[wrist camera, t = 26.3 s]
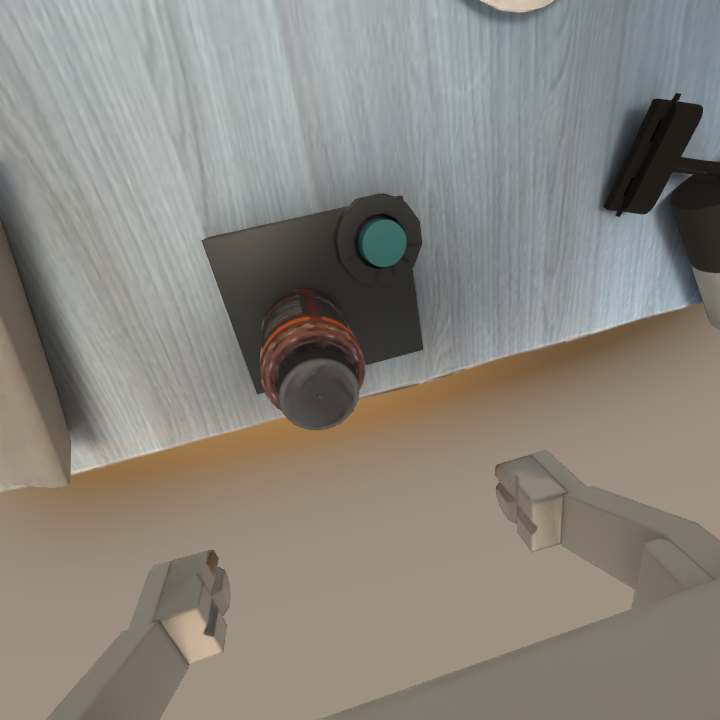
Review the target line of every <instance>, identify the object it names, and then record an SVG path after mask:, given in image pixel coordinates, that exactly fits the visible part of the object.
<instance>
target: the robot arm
mask: <svg viewBox="0 0 720 720" xmlns="http://www.w3.org/2000/svg"><path fill="white" fill-rule="evenodd" d="M495 475H496V477H497V478H498V479H499V481H500V482H499V483H498V485H497V486H496V494H497V499H498V502H499V505H500V507H501V509H502V511H503V513H504V514H505V516H506V517H507V519H508V520H510V521H512V522H514V523H516V524H517V532H518V534H519V535H520V537H521V538H522V539H523V541H524V542H525V544H526V545H527V546H528V548H529V549H530V550H531V552H535V551H538V550H542V549H545V548H548V547H552V546H556V545H559V544H561V545H562V546H563V547H565V548H566V549H568V550H570V551H572V552H573V553H575V554H576V555H578V556H580V557H581V558H583V559H585V560H586V561H588V562H590V563H591V564H593V565H595V566H596V567H598V568H600V569H601V570H603V571H605V572H606V573H608V574H610V575H611V576H613V577H615V578H617V579H618V580H620V581H622V582H623V583H625V584H627V585H628V586H630V587H632V588H633V589H635V592H634V598H633V603H632V609H631V610H628V611H625V612H622V613H619V614H617V615H614V616H611V617H608V618H605V619H603V620H600V621H597V622H594V623H591V624H588V625H585V626H582V627H580V628H577V629H574V630H571V631H568V632H565V633H563V634H560V635H557V636H554V637H552V638H548V639H546V640H543V641H540V642H537V643H534V644H531V645H529V646H526V647H523V648H520V649H517V650H514V651H511V652H509V653H506V654H503V655H500V656H497V657H494V658H492V659H489V660H486V661H483V662H480V663H477V664H475V665H472V666H469V667H466V668H463V669H461V670H457V671H455V672H452V673H449V674H446V675H443V676H441V677H438V678H435V679H432V680H429V681H426V682H423V683H421V684H418V685H415V686H412V687H410V688H406V689H404V690H401V691H398V692H395V693H393V694H390V695H387V696H384V697H381V698H378V699H375V700H373V701H370V702H367V703H364V704H361V705H358V706H356V707H353V708H350V709H347V710H344V711H341V712H339V713H336V714H333V715H330V716H327V717H324V718H322V719H319V720H720V540H718V539H717V538H716V537H715V536H713V535H712V534H711V533H709V532H708V531H707V530H705V529H704V528H703V527H702V526H700V525H699V524H698V523H695V522H692V521H689V520H687V519H684V518H681V517H678V516H675V515H673V514H670V513H667V512H664V511H662V510H659V509H656V508H653V507H650V506H647V505H645V504H642V503H639V502H636V501H634V500H631V499H628V498H625V497H622V496H620V495H617V494H614V493H611V492H608V491H606V490H603V489H600V488H597V487H595V486H590V487H587V486H586V485H585V484H583V483H582V482H581V481H580V480H579V479H578V478H577V477H576V476H575V475H574V474H573V473H572V472H570V471H569V470H568V469H567V468H566V467H565V466H564V465H563V464H562V463H561V462H560V461H558V460H557V459H556V458H555V457H554V456H553V455H552V454H551V453H550V452H548V451H546V450H543V451H540V452H537V453H534V454H530V455H528V456H524V457H521V458H517V459H514V460H511V461H508V462H504V463H501V464H498V465H496V468H495ZM218 559H219V558H218V557H217V555H216V553H215V551H214V550H208V551H205V552H201V553H197V554H193V555H190V556H186V557H183V558H178V559H175V560H172V561H169V562H165V563H161V564H158V565H154V566H153V567H152V569H151V570H150V571H149V573H148V576H147V579H146V582H145V585H144V587H143V590H142V593H141V596H140V598H139V601H138V604H137V607H136V610H135V612H134V615H133V618H132V621H131V624H130V626H129V629H128V630H126V631H123V632H122V633H121V634H120V635H119V636H118V637H117V638H116V639H115V641H114V642H113V643H112V644H111V645H110V646H109V648H108V649H107V650H106V651H105V652H104V653H103V655H102V656H101V657H100V658H99V659H98V660H97V661H96V663H95V664H94V665H93V666H92V667H91V668H90V669H89V671H88V672H87V673H86V674H85V675H84V676H83V677H82V679H81V680H80V681H79V682H78V683H77V685H76V686H75V687H74V688H73V689H72V690H71V691H70V692H69V694H68V695H67V696H66V697H65V698H64V699H63V701H62V702H61V703H60V704H59V705H58V707H57V708H56V709H55V710H54V711H53V712H52V713H51V715H50V716H49V717H48V718H47V719H46V720H159V719H160V718H161V716H162V714H163V712H164V710H165V709H166V707H167V705H168V703H169V702H170V700H171V698H172V696H173V695H174V693H175V691H176V689H177V687H178V686H179V684H180V682H181V681H182V679H183V677H184V675H185V673H186V672H187V670H188V668H189V666H188V665H190V664H193V663H196V662H199V661H201V660H204V659H207V658H210V657H213V656H215V655H218V654H221V653H223V651H224V644H225V636H226V628H227V624H226V622H225V620H224V618H223V616H224V614H225V612H226V611H227V610H228V608H229V603H230V585H229V580H228V577H227V574H226V572H225V570H224V569H222V568H220V567H218V566H217V565H218Z"/></svg>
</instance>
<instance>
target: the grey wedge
mask: <svg viewBox="0 0 720 720" xmlns="http://www.w3.org/2000/svg"><path fill="white" fill-rule="evenodd" d="M70 469H71V440H70V436H69V432H68V429H67V425H66V422H65V418H64V415H63V411H62V408H61V404H60V400H59V397H58V394H57V391H56V387H55V384H54V381H53V378H52V375H51V372H50V369H49V366H48V362H47V359H46V356H45V353H44V350H43V347H42V344H41V341H40V338H39V335H38V331H37V328H36V325H35V322H34V319H33V316H32V313H31V310H30V307H29V304H28V301H27V298H26V295H25V292H24V289H23V286H22V283H21V280H20V277H19V273H18V270H17V267H16V264H15V261H14V258H13V255H12V252H11V249H10V246H9V243H8V240H7V238H6V235H5V232H4V229H3V226H2V223H1V220H0V483H8V484H16V485H25V486H34V487H43V488H59V487H63V486H66V485H68V484H69V483H70Z"/></svg>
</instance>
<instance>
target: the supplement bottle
mask: <svg viewBox="0 0 720 720" xmlns="http://www.w3.org/2000/svg"><path fill="white" fill-rule="evenodd" d="M364 376H365V359H364V355H363V352H362V349H361V347H360V345H359V343H358V341H357V339H356V337H355V336H354V334H353V332H352V331H351V329H350V327H349V325H348V324H347V322H346V321H345V319H344V317H343V316H342V314H341V312H340V311H339V309H338V307H337V306H336V305H335V304H334V303H333V302H332V301H331V300H330V299H329V298H328V297H327V296H325V295H324V294H322V293H320V292H317V291H314V290H310V289H295V290H291V291H288V292H286V293H284V294H282V295H280V296H279V297H278V298H276V299H275V300H274V301H273V302H272V303H271V304H270V306H269V307H268V309H267V311H266V314H265V316H264V320H263V325H262V338H261V353H260V380H261V384H262V387H263V389H264V391H265V393H266V395H267V397H268V398H269V400H270V401H271V402H272V403H273V404H274V405H275V406H276V407H277V408H278V409H280V410H281V411H282V412H283V413H284V415H285V416H286V417H287V419H288V420H290V421H291V422H292V423H293V424H295V425H297V426H299V427H301V428H304V429H309V430H323V429H328V428H331V427H334V426H336V425H338V424H340V423H341V422H343V421H344V420H345V419H346V418H347V417H348V416H349V415H350V414H351V413H352V412H353V411H354V408H355V406H356V404H357V402H358V398H359V390H360V389H361V386H362V384H363V381H364Z"/></svg>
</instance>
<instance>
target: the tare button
mask: <svg viewBox="0 0 720 720" xmlns="http://www.w3.org/2000/svg"><path fill="white" fill-rule="evenodd" d="M358 248H359V251H360V253H361V255H362V256H363V257H364V258H365V259H366V260H367V261H369V262H370V263H372V264H373V265H375V266H378V267H389V266H391V265H394V264H395V263H397V262H398V261H399V260H400V259H401V257H402V256H403V254H404V252H405V249H406V235H405V233H404V231H403V229H402V227H401V226H400V225H399V224H397V223H396V222H394V221H392V220H387V219H374V220H371V221H369V222H368V223H367V224H365V225H364V227H363V228H362V229H361V231H360V233H359V237H358Z"/></svg>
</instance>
